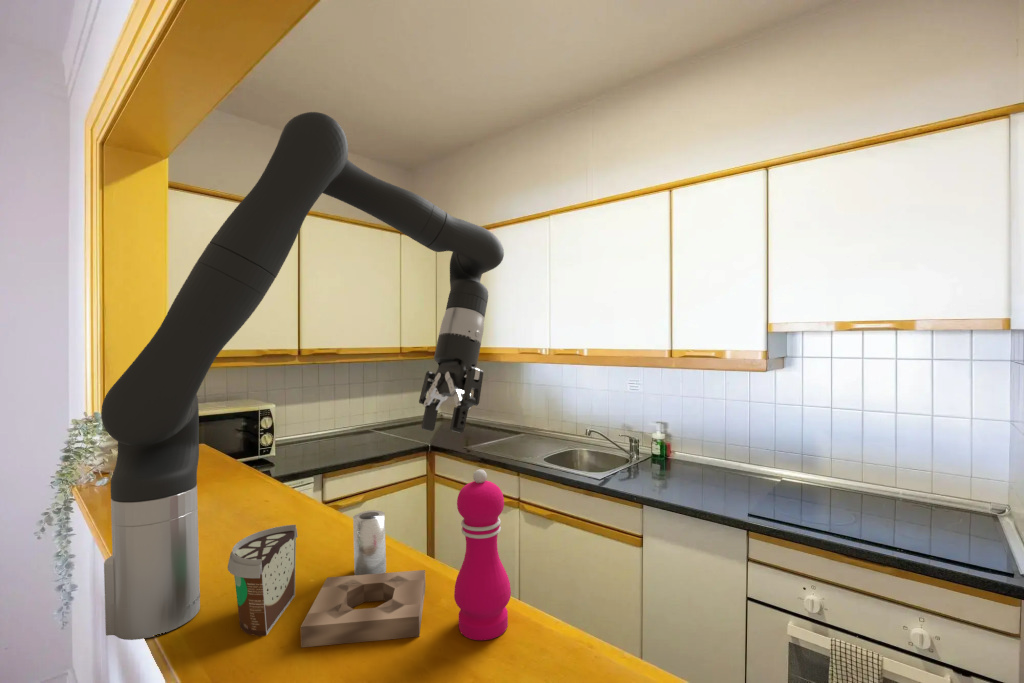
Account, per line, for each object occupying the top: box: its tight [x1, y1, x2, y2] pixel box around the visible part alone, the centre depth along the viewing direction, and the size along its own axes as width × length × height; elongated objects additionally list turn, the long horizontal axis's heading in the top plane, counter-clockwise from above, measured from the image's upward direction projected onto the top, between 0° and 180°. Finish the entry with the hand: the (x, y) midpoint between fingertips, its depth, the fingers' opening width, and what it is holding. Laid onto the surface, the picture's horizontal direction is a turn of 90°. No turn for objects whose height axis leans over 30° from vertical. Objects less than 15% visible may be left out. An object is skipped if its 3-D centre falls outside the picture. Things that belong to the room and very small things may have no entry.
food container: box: [227, 524, 298, 637], centre depth 64 cm, size 12×6×10 cm, turn 4°
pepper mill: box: [453, 469, 512, 641], centre depth 61 cm, size 7×7×20 cm
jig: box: [300, 569, 426, 648], centre depth 64 cm, size 14×12×2 cm
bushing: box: [352, 509, 387, 575], centre depth 76 cm, size 5×5×9 cm
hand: (441, 430), depth 79 cm, fingers open, 8 cm apart
